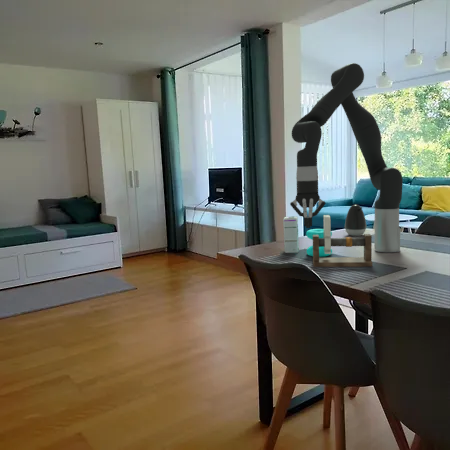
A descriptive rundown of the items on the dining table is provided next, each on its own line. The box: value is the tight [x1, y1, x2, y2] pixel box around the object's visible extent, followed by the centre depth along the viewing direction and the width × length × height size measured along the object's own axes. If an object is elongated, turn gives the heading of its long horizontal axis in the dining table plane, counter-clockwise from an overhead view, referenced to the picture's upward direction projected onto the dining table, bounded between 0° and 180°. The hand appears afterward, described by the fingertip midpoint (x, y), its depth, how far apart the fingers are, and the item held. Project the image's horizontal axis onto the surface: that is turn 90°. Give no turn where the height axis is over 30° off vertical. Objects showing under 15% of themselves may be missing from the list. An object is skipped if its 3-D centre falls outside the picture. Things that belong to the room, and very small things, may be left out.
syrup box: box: [282, 216, 300, 254], centre depth 180 cm, size 6×6×14 cm
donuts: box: [305, 228, 333, 258], centre depth 172 cm, size 10×10×10 cm
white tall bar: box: [323, 214, 332, 255], centre depth 155 cm, size 2×7×13 cm, turn 171°
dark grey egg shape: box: [344, 204, 367, 237], centre depth 212 cm, size 10×10×15 cm
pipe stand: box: [312, 233, 374, 268], centre depth 155 cm, size 20×8×10 cm, turn 81°
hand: (308, 227), depth 156 cm, fingers closed
